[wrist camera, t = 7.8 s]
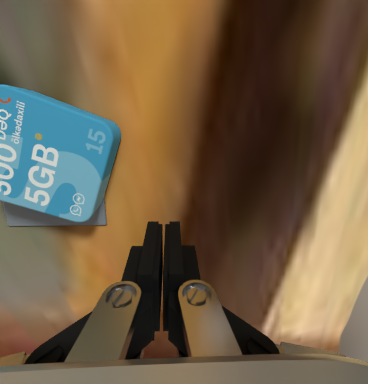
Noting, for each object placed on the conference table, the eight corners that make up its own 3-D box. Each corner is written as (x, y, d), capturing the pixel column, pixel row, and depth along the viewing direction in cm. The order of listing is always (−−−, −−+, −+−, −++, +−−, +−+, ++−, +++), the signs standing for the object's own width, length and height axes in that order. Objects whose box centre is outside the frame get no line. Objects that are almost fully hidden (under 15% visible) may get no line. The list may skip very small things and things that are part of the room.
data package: (88, 226, 25) (-25, 194, 23) (100, 211, 29) (5, 182, 27) (116, 126, 22) (-13, 78, 20) (124, 125, 26) (19, 85, 24)
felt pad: (96, 119, 26) (96, 119, 26) (106, 224, 30) (106, 225, 30) (-19, 116, 25) (-21, 116, 25) (9, 224, 29) (8, 225, 29)
